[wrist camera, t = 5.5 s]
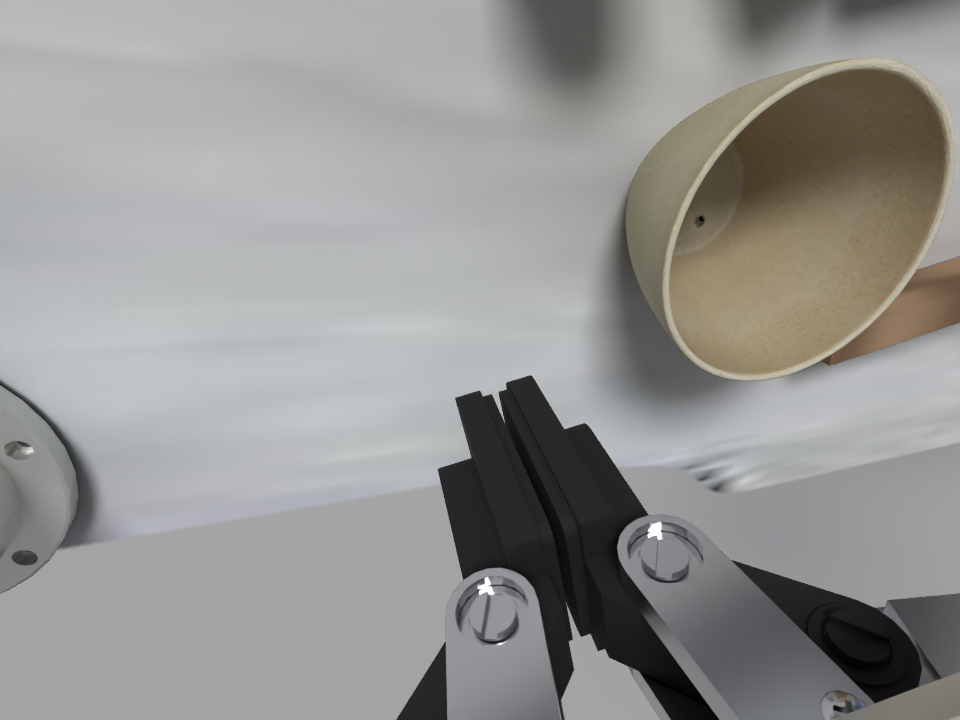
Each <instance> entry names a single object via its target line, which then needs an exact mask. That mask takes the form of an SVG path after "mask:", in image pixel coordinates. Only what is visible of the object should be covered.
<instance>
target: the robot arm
mask: <svg viewBox="0 0 960 720" xmlns="http://www.w3.org/2000/svg"><path fill="white" fill-rule="evenodd" d="M506 387H507V390H504V391H500V392H499V397H500V402H501V406H502V411H503V416H504V420H505V423H504V421H503V418H502V416H501V414H500V412H499V409H498V407H497V405H496V403H495V401H494V398H493V396H492V395H491V394H490V395H487V396H484V397H483V396H482V394H481V392H480V391H477V392H473V393H470V394H467V395H463V396H460V397H457V398H455V399H456V403H457V407H458V410H459V414H460V417H461V421H462V425H463V428H464V432H465V435H466V439H467V443H468V446H469V450H470V454H471V457H472V458H471V459H468V460H464V461H461V462H458V463H455V464H451V465H448V466H445V467H442V468H439V469H438V472H439V477H440V481H441V485H442V490H443V494H444V498H445V503H446V507H447V511H448V515H449V520H450V524H451V529H452V533H453V537H454V542H455V546H456V550H457V555H458V559H459V563H460V568H461V572H462V576H463V581H462V582H461V583H460V584H459V585H458V587H457V588H456V589H455V590H454V591H453V593H452V595H451V597H450V599H449V601H448V604H447V609H446V616H445V630H446V642H445V643H444V645H443V646H442V648H441V650H440V651H439V653H438V654H437V656H436V658H435V659H434V661H433V662H432V664H431V665H430V667H429V669H428V670H427V672H426V673H425V675H424V677H423V678H422V680H421V681H420V683H419V685H418V686H417V688H416V690H415V691H414V693H413V694H412V696H411V697H410V699H409V700H408V702H407V704H406V705H405V707H404V709H403V710H402V712H401V713H400V715H399V716H398V718H397V720H565V716H564V712H563V706H562V702H561V699H562V696H563V694H564V692H565V689H566V687H567V685H568V682H569V680H570V678H571V675H572V673H573V671H574V668H573V662H572V657H571V652H570V647H569V641H570V640H572V632H571V627H570V622H569V616H568V611H567V605H568V608H569V610H570V612H571V615H572V617H573V620H574V622H575V625H576V627H577V630H578V632H579V634H580V636H581V637H582V636H585V635H587V634H591V636H592V638H593V640H594V643H595V645H596V647H597V650H598V651H600V650H603V649H606V652H607V654H608V656H609V658H612V659H614V660H616V661H618V662H620V663H622V664H625V665H627V666H628V667H629V669H630V671H631V674H632V676H633V678H634V680H635V681H636V683H637V684H638V686H639V687H640V689H641V691H642V692H643V694H644V695H645V697H646V698H647V700H648V701H649V702H650V704H651V706H652V708H653V709H654V711H655V712H656V714H657V715H658V717H659V718H660V720H960V593H958V594H947V595H937V596H926V597H916V598H906V599H894V600H887V603H886V606H885V607H877V608H874V607H871V606H869V605H867V604H865V603H862V602H860V601H858V600H854V599H852V598H848V597H845V596H842V595H839V594H836V593H833V592H829V591H826V590H823V589H820V588H817V587H814V586H811V585H808V584H805V583H801V582H798V581H795V580H792V579H789V578H786V577H783V576H780V575H777V574H774V573H770V572H767V571H764V570H761V569H758V568H754V567H751V566H749V565H745V564H742V563H739V562H736V561H733V560H730V559H729V558H728V557H727V556H726V555H725V554H724V553H723V552H722V551H721V550H720V549H719V548H718V547H717V546H716V545H715V544H714V543H713V542H712V541H711V540H710V539H709V538H708V537H707V536H706V535H705V534H704V533H703V532H702V531H701V530H700V529H698V528H697V527H696V526H694V525H693V524H692V523H690V522H688V521H686V520H683V519H681V518H679V517H674V516H670V515H663V514H661V515H648V513H647V512H646V511H645V509H644V508H643V506H642V505H641V503H640V502H639V500H638V499H637V497H636V496H635V494H634V493H633V491H632V490H631V488H630V487H629V485H628V484H627V482H626V481H625V479H624V478H623V476H622V475H621V473H620V472H619V470H618V469H617V467H616V466H615V464H614V463H613V461H612V460H611V458H610V457H609V455H608V454H607V452H606V451H605V449H604V448H603V446H602V445H601V444H600V442H599V441H598V439H597V438H596V436H595V435H594V433H593V432H592V430H591V429H590V428H589V426H588V425H587V424H585V423H584V424H580V425H577V426H574V427H571V428H567V429H564V428H563V427H562V425H561V423H560V422H559V420H558V418H557V417H556V415H555V413H554V412H553V410H552V408H551V407H550V405H549V403H548V402H547V400H546V398H545V397H544V395H543V393H542V392H541V390H540V388H539V387H538V385H537V383H536V382H535V380H534V378H533V377H532V376H531V375H530V376H527V377H524V378H520V379H517V380H513V381H510V382H507V383H506ZM78 495H79V492H78V486H77V479H76V472H75V469H74V467H73V465H72V462H71V460H70V458H69V455H68V453H67V451H66V449H65V447H64V445H63V444H62V443H61V441H60V440H59V439H58V437H57V436H56V435H55V433H54V432H53V431H52V429H51V428H50V426H49V425H48V424H47V423H46V422H45V421H44V420H43V419H42V418H41V417H40V416H39V415H38V414H37V413H35V412H34V411H33V410H32V409H31V408H30V407H29V406H28V405H27V404H26V403H25V402H24V401H23V400H21V399H20V398H18V397H17V396H15V395H14V394H12V393H11V392H9V391H8V390H6V389H5V388H3V387H2V386H0V593H2V592H5V591H7V590H10V589H11V588H13V587H14V586H16V585H18V584H20V583H21V582H23V581H24V580H26V579H28V578H29V577H31V576H33V575H34V574H35V573H36V572H37V571H38V570H39V569H40V568H41V567H43V565H44V564H46V563H47V562H48V561H49V560H50V559H51V558H52V556H53V555H54V553H55V552H56V550H57V549H58V547H59V546H60V544H61V543H62V541H63V540H64V538H65V536H66V534H67V532H68V530H69V528H70V526H71V524H72V522H73V519H74V517H75V515H76V508H77V502H78ZM566 603H567V605H566Z"/></svg>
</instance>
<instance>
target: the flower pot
mask: <svg viewBox="0 0 960 720" xmlns="http://www.w3.org/2000/svg"><path fill="white" fill-rule="evenodd" d="M955 155H956V145H955V135H954V127H953V123H952V119H951V114H950V112H949V109H948V107H947V105H946V102H945V101H944V99H943V97H942V96H941V94H940V92H939V91H938V90H937V88H936V87H935V86H934V84H933V83H932V82H931V81H930V80H929V79H928V78H926V77H925V76H924V75H923V74H921V73H919V72H918V71H917V70H915V69H914V68H912V67H910V66H908V65H906V64H903V63H900V62H896V61H892V60H886V59H880V58H860V59H849V60H841V61H834V62H828V63H823V64H818V65H813V66H808V67H804V68H800V69H796V70H793V71H789V72H785V73H782V74H778V75H775V76H772V77H769V78H766V79H763V80H760V81H757V82H754V83H752V84H749V85H747V86H744V87H741V88H739V89H737V90H735V91H733V92H730V93H728V94H726V95H724V96H722V97H720V98H718V99H716V100H714V101H713V102H711V103H709V104H707V105H705V106H704V107H702V108H701V109H699V110H697V111H696V112H694V113H693V114H691V115H690V116H688V117H687V118H686V119H684V120H683V121H681V122H680V123H679V124H677V125H676V126H675V127H674V128H673V129H671V130H670V131H669V132H668V133H667V134H666V135H665V136H664V137H663V138H662V139H661V140H660V141H659V142H658V143H657V144H656V145H655V146H654V147H653V149H652V150H651V151H650V152H649V153H648V155H647V156H646V157H645V159H644V160H643V162H642V163H641V165H640V167H639V168H638V170H637V172H636V174H635V176H634V179H633V181H632V184H631V188H630V191H629V195H628V200H627V207H626V237H627V244H628V250H629V255H630V259H631V263H632V266H633V270H634V273H635V275H636V278H637V281H638V283H639V286H640V288H641V290H642V292H643V295H644V297H645V299H646V301H647V302H648V304H649V306H650V308H651V309H652V311H653V313H654V315H655V316H656V318H657V319H658V321H659V322H660V324H661V325H662V327H663V328H664V330H665V331H666V333H667V334H668V335H669V336H670V338H671V339H672V340H673V342H674V343H675V344H676V345H677V347H678V348H679V349H680V350H681V351H682V352H683V353H684V355H685V356H686V357H687V358H688V359H689V360H690V361H692V362H693V363H694V364H695V365H697V366H698V367H700V368H701V369H703V370H705V371H706V372H708V373H711V374H713V375H715V376H719V377H722V378H725V379H730V380H736V381H763V380H770V379H775V378H779V377H783V376H786V375H790V374H793V373H795V372H797V371H800V370H803V369H805V368H807V367H810V366H812V365H814V364H816V363H817V362H819V361H821V360H823V359H825V358H826V357H828V356H830V355H831V354H833V353H834V352H836V351H837V350H839V349H841V348H842V347H844V346H845V345H846V344H848V343H849V342H850V341H851V340H853V339H854V338H855V337H857V336H858V335H859V334H860V333H862V332H863V331H864V330H865V329H866V328H868V327H869V326H870V325H871V324H872V323H873V322H874V321H875V320H876V319H877V318H878V317H879V316H880V315H881V314H882V313H883V312H884V311H885V310H886V309H887V308H888V307H889V306H890V304H891V303H892V302H893V301H894V300H895V298H896V297H897V296H898V295H899V294H900V292H901V291H902V290H903V289H904V287H905V286H906V285H907V283H908V282H909V280H910V279H911V278H912V276H913V274H914V273H915V271H916V270H917V268H918V266H919V265H920V264H921V262H922V260H923V258H924V257H925V255H926V253H927V251H928V250H929V248H930V246H931V244H932V242H933V240H934V238H935V236H936V234H937V231H938V229H939V226H940V224H941V222H942V219H943V216H944V213H945V210H946V207H947V204H948V201H949V197H950V192H951V189H952V183H953V178H954V170H955ZM700 216H702V217H703V220H704V221H700V220H699V217H700Z"/></svg>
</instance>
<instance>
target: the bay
mask: <svg viewBox="0 0 960 720" xmlns="http://www.w3.org/2000/svg"><path fill="white" fill-rule="evenodd" d="M959 322H960V257H957V258H954V259H951V260H948V261H944V262H941V263H938V264H935V265H932V266H929V267H926V268H922V269H919V270H916V271H915V273H914V274H913V276H912V278H911V279H910V280H909V282H908V283H907V285H906V286H905V287H904V289H903V290H902V291H901V292H900V294H899V295H898V296H897V297H896V298H895V300H894V301H893V302H892V303H891V304H890V306H889V307H888V308H887V309H886V310H885V311H884V312H883V313H882V314H881V315H880V316H879V317H878V318H877V319H876V320H875V321H874V322H873V323H872V324H871V325H870V326H869V327H868V328H866V329H865V330H864V331H863V332H862V333H860V334H859V335H858V336H857V337H855V338H854V339H853V340H851V341H850V342H849V343H848V344H846V345H845V346H844V347H842V348H841V349H839V350H837V351H836V352H834V353H833V354H831V355H830V356H828V357H826V358H825V359H823V360H821V361H822V362H824V363H826V364H827V365H829V366H831V365H834V364H837V363H840V362H843V361H846V360H849V359H852V358H855V357H858V356H861V355H864V354H867V353H870V352H872V351H875V350H878V349H881V348H884V347H887V346H890V345H893V344H896V343H899V342H902V341H905V340H908V339H911V338H914V337H917V336H920V335H923V334H926V333H929V332H932V331H935V330H938V329H941V328H944V327H947V326H950V325H953V324H956V323H959Z"/></svg>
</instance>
